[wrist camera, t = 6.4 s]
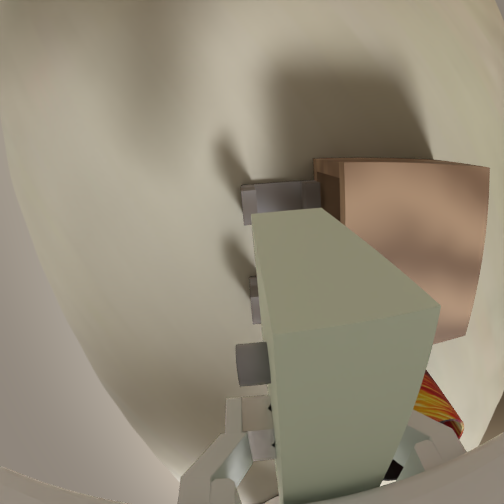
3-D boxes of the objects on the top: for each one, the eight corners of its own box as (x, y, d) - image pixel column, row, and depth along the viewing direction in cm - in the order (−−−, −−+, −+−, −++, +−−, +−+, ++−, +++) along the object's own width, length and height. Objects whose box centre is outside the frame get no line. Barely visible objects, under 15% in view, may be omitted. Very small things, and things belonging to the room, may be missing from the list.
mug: (307, 363, 31) (332, 454, 19) (422, 337, 30) (476, 404, 19) (309, 420, 34) (327, 499, 22) (410, 394, 34) (447, 460, 22)
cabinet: (423, 296, 29) (465, 335, 21) (252, 318, 29) (256, 373, 21) (433, 159, 24) (489, 167, 17) (239, 163, 24) (238, 168, 17)
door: (316, 435, 14) (343, 546, 8) (259, 442, 14) (268, 557, 8) (321, 207, 10) (441, 305, 4) (229, 216, 10) (214, 339, 4)
